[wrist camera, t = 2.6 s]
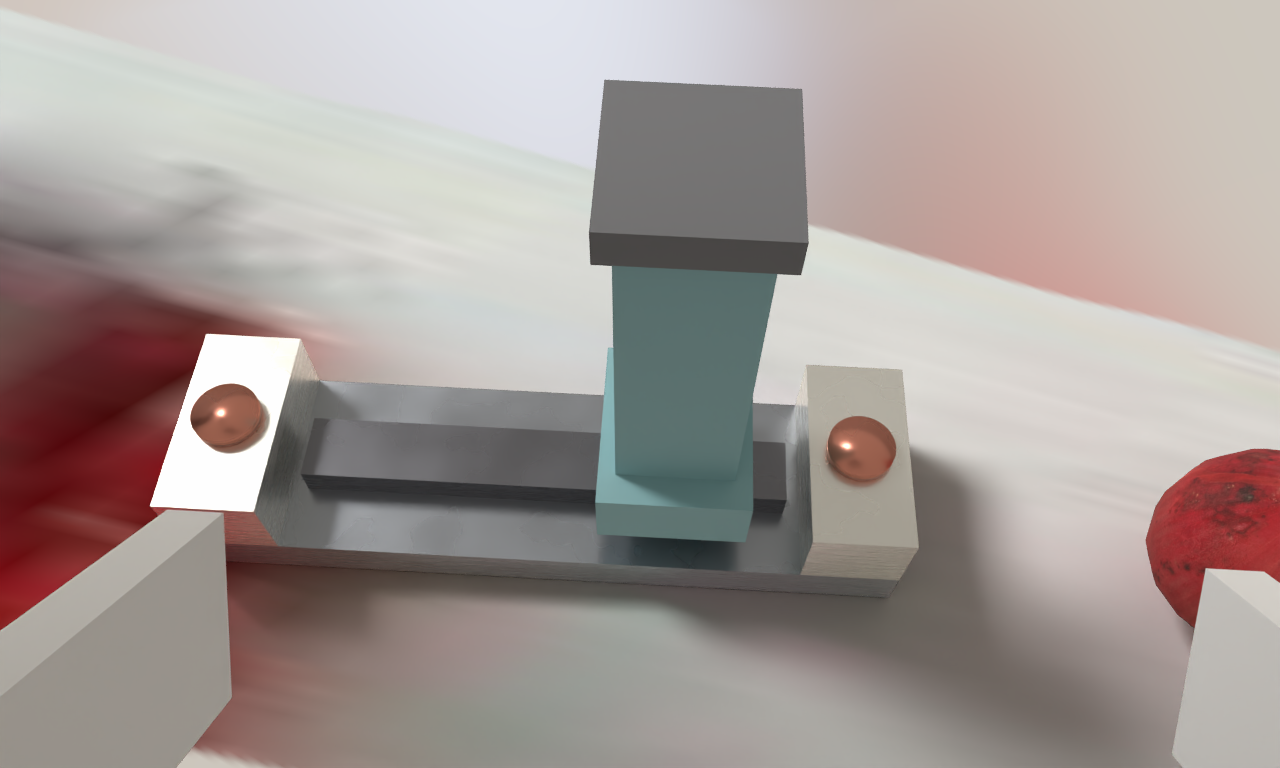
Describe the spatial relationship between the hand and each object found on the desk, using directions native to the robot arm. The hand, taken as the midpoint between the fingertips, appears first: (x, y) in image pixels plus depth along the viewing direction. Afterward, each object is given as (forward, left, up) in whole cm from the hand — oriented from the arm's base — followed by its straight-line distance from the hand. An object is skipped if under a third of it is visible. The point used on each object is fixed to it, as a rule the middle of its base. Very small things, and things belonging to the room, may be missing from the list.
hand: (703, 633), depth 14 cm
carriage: (-7, +8, -15) cm, 18 cm away
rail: (-10, +6, -18) cm, 21 cm away
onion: (+8, +17, -18) cm, 26 cm away
